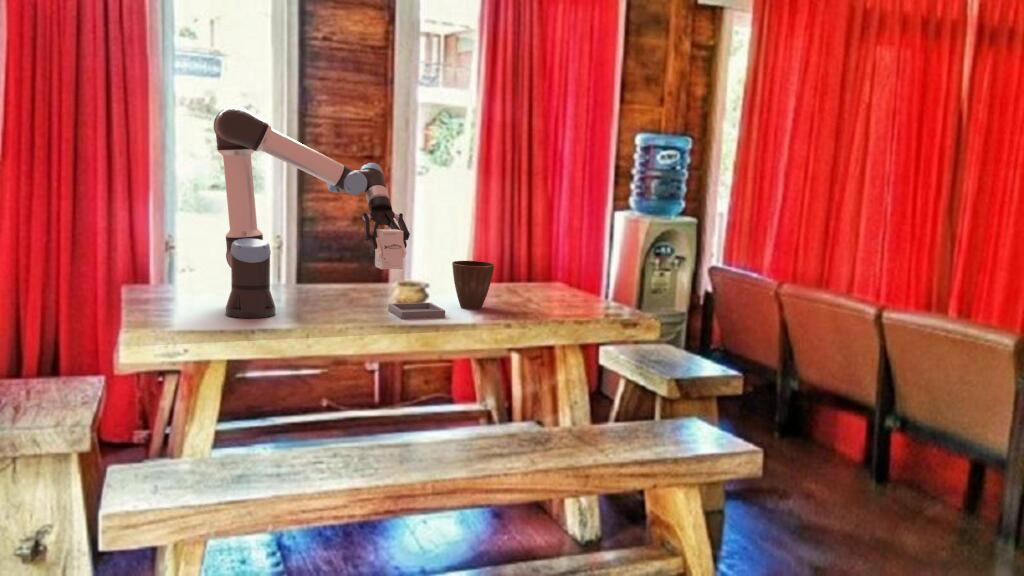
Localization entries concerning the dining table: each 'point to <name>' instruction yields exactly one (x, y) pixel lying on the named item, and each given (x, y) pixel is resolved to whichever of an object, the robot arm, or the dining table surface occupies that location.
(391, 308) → the tray
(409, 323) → the dining table surface
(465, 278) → the plant pot
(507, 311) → the dining table surface
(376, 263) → the supplement box
